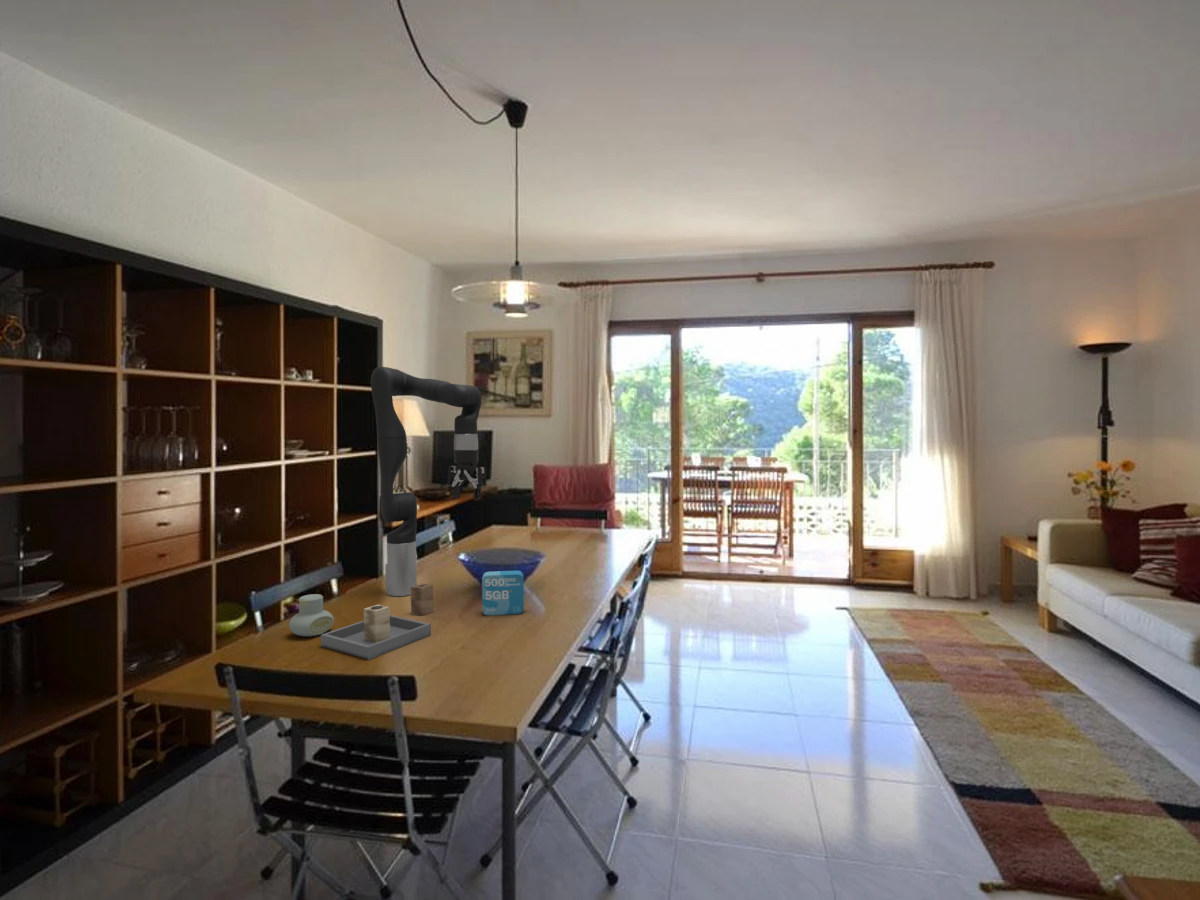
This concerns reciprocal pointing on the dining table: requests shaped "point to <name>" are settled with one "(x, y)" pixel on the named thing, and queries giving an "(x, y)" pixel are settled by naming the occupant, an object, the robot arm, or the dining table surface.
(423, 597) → the full-size block
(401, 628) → the tray
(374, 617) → the block
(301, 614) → the air freshener
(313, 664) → the dining table surface
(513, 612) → the data package
